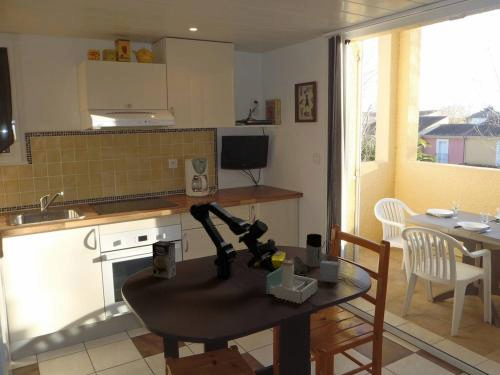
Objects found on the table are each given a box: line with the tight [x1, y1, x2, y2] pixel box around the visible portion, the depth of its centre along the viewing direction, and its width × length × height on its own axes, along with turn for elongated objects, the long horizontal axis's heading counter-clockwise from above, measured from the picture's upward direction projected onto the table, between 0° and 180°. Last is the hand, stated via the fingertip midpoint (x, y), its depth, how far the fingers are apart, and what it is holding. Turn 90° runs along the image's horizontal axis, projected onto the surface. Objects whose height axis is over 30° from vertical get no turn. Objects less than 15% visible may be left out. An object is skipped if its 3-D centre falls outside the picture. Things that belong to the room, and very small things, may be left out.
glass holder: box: [304, 233, 333, 268], centre depth 221 cm, size 9×14×15 cm, turn 54°
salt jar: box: [282, 259, 295, 289], centre depth 187 cm, size 5×5×12 cm
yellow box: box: [253, 251, 286, 269], centre depth 226 cm, size 15×15×5 cm
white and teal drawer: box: [265, 267, 306, 296], centre depth 188 cm, size 12×15×8 cm
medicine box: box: [319, 260, 340, 284], centre depth 200 cm, size 8×4×9 cm, turn 71°
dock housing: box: [274, 274, 319, 305], centre depth 185 cm, size 12×16×5 cm
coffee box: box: [151, 240, 177, 279], centre depth 207 cm, size 9×6×16 cm
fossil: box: [289, 255, 308, 277], centre depth 209 cm, size 11×9×10 cm
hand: (274, 272), depth 191 cm, fingers closed, pressing on white and teal drawer
